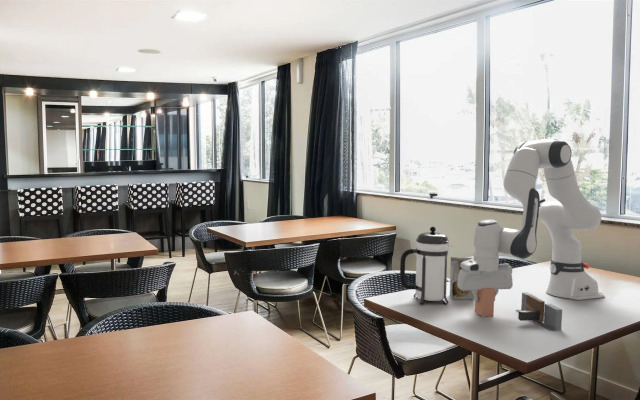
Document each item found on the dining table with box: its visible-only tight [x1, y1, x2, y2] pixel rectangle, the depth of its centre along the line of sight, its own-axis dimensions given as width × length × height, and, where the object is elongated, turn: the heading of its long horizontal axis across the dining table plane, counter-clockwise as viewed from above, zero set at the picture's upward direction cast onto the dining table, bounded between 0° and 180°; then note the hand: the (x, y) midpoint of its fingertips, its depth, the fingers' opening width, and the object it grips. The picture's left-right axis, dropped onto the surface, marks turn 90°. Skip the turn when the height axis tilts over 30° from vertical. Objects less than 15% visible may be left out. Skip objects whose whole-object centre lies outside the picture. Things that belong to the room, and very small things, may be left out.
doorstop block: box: [474, 288, 495, 317], centre depth 193 cm, size 4×6×10 cm
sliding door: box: [517, 294, 546, 323], centre depth 185 cm, size 9×9×7 cm
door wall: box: [515, 291, 563, 331], centre depth 186 cm, size 4×22×7 cm, turn 9°
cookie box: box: [449, 256, 474, 300], centre depth 214 cm, size 9×6×16 cm
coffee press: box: [399, 226, 452, 306], centre depth 207 cm, size 17×16×30 cm
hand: (484, 301), depth 193 cm, fingers closed on doorstop block, 4 cm apart
